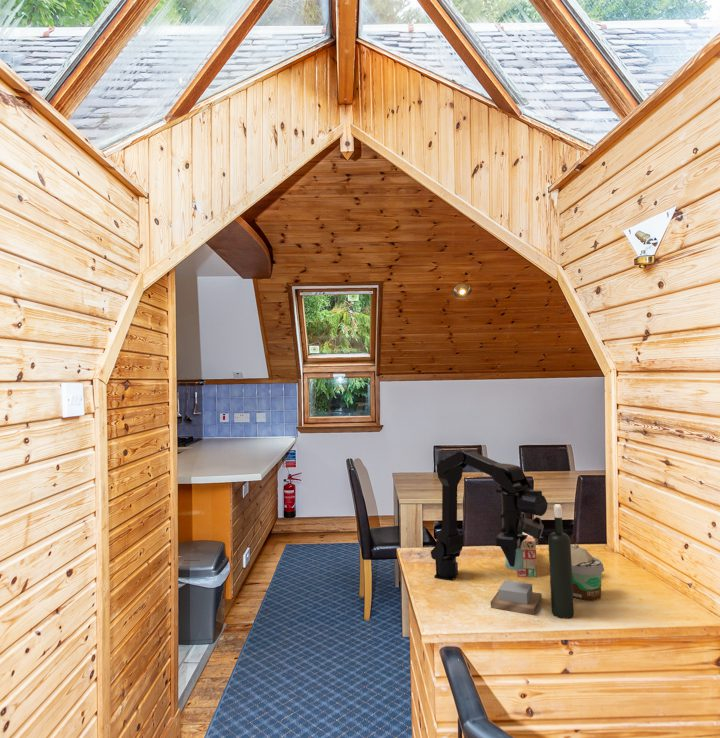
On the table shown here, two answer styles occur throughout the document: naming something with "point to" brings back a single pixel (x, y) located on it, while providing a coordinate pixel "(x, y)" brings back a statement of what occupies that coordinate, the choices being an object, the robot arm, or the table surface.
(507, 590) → the grey square block
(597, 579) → the food container
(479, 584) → the table surface
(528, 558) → the stack of blocks
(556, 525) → the wine bottle
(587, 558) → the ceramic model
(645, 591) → the table surface
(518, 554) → the teal round block
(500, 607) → the tower base slab
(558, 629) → the table surface
